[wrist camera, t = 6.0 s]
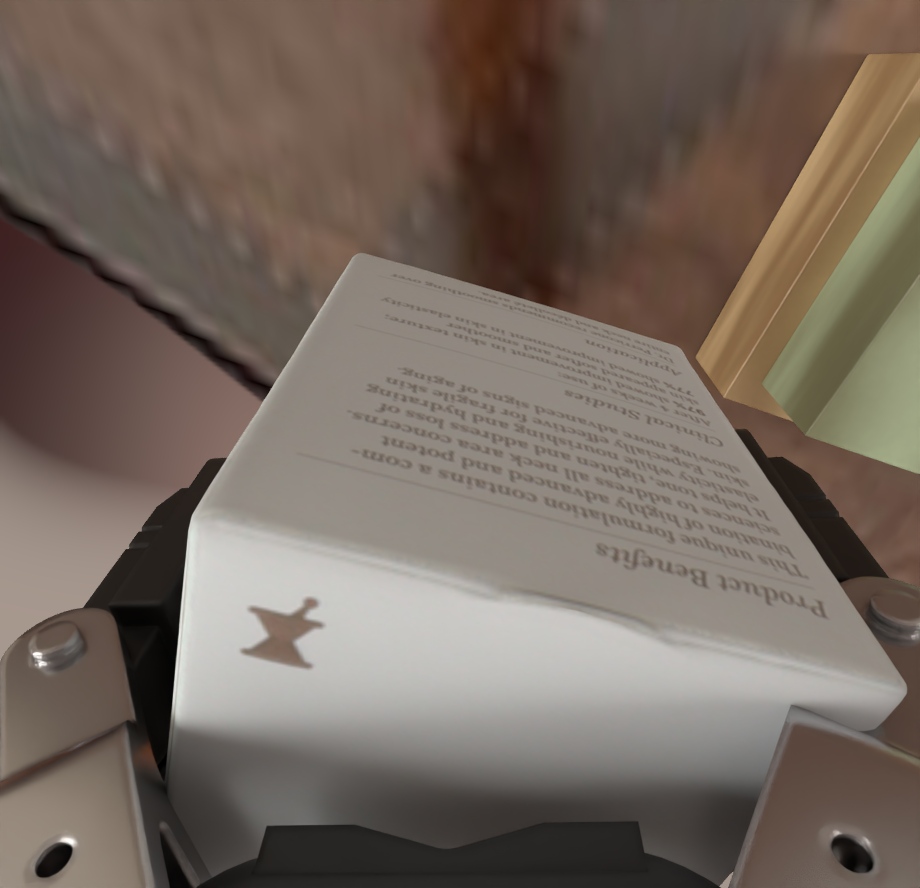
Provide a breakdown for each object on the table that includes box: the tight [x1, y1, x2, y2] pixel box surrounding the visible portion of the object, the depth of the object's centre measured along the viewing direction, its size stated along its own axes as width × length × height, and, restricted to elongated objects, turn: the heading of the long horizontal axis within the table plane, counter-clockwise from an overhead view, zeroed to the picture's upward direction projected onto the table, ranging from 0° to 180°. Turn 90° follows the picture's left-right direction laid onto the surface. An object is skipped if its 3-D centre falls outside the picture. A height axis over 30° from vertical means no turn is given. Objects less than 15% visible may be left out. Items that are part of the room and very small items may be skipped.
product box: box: [165, 253, 907, 886], centre depth 9 cm, size 6×6×7 cm
